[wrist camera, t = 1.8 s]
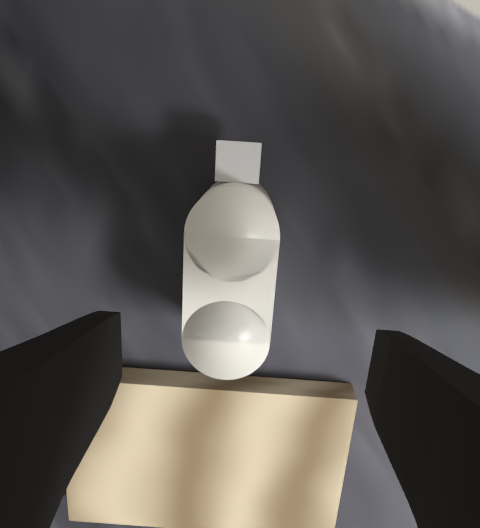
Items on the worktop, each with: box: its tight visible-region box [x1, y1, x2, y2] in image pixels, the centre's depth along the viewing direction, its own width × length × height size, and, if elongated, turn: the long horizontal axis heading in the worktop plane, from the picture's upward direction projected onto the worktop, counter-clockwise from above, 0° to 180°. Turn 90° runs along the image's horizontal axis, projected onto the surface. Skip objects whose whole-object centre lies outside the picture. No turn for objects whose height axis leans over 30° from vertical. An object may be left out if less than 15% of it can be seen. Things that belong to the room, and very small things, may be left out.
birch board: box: [66, 367, 358, 528], centre depth 23 cm, size 16×10×2 cm, turn 86°
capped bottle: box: [182, 140, 280, 380], centre depth 18 cm, size 4×10×5 cm, turn 177°
